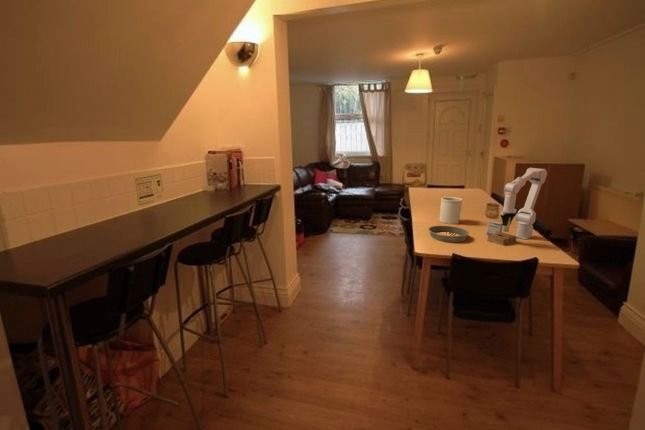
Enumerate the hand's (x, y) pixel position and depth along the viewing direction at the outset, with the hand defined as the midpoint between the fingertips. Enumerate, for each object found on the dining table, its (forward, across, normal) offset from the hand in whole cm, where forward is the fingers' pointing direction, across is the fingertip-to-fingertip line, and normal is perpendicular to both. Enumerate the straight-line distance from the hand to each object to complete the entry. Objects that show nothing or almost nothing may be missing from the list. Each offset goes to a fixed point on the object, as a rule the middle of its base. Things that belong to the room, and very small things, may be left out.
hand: (506, 225), depth 212 cm
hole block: (+10, 0, +1) cm, 10 cm away
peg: (+4, 0, 0) cm, 4 cm away
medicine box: (+11, +8, +11) cm, 17 cm away
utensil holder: (+11, +11, +48) cm, 51 cm away
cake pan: (+11, -22, +25) cm, 35 cm away
